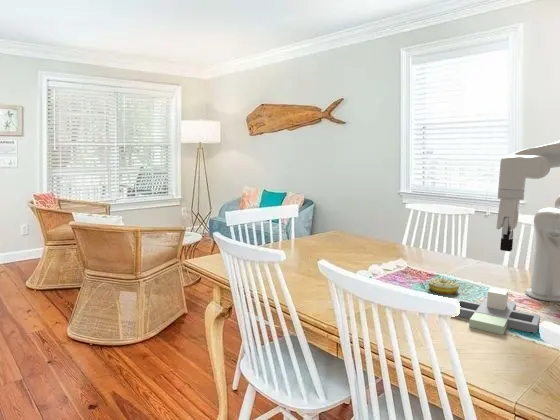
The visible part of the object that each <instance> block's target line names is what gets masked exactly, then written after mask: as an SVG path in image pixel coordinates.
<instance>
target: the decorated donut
mask: <svg viewBox="0 0 560 420" xmlns="http://www.w3.org/2000/svg"><path fill="white" fill-rule="evenodd" d="M428 287H429V290H431V291H432V292H434V293H436V294H440V295H454V294H457V292H458V291H459V289H460V284H458V282H456V281H454V280H452V279H447V278H441V277H440V278H434V279H430V280H429V281H428Z"/></svg>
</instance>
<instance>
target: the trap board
mask: <svg viewBox="0 0 560 420" xmlns="http://www.w3.org/2000/svg"><path fill="white" fill-rule="evenodd" d="M487 297H488V296H486V297H485V298H484V300H483V301H482V302H481V303H479V302H475V301H470V300H465V299H460V298H456V299H457V300H459V303H460V306H461V307H460V314H459V316H458V317H461V318H464V319H469V323H468V326H469V328H473V329H477V330H481V331H486V332H488V333H489V332H490V333H493V334H498V335H502V336H503V335H504V334H505V332H506V329H507V328H509V329H514V330H518V331H522V332H526V331H527V333H530V332H534V333H533V334H535V333H536V332H537V333H538V329H539V327H538V325H539V326H540V324H541V315H538V314H533V313H529V312H525V311H519V310H517V302H512V301H508V300H507V307H506V308H505V310H500V309H495V308H490V307H487ZM539 323H540V324H539ZM537 333H536V334H537Z"/></svg>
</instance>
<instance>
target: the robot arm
mask: <svg viewBox="0 0 560 420" xmlns="http://www.w3.org/2000/svg"><path fill="white" fill-rule="evenodd" d="M552 168H553V169H554V168H560V139H559V140H557V141H554V142H552V143H548V144H544V145H542V144H541V145H538V146H535V147H530V148H529V147H528V148H525V149H521V150H519V151H516V152H513V153H510V154H509V155H506V156H502V157H501V159H500V164H499V177H498V188H497V189H498V190H497V199H498V200H500V201H499V205H498V213H497V220H496V229H497V230H501V238H500V245H499V247H500V248H499V249H500V251H503V252H512V250H513V245H514V243H513V242H514V230H515V229H516V228H517V226H518V222H519V213H520V201H525V190H526V182H527V181H526V179H531V180H540V179H543V178H545V177H546V176H547V175H548V174H549V173H550V172H551V169H552ZM533 229H534V234H535V235H534V251H533V261H532V262H533V263H532V272H531V283H530V287H528V288H526V289H525V294H526V295H527V296H529V297H531V298H533V299H536V300H540V301H546V302H557V303H558V302H559V303H560V194H559V195H558V197H557V198H556V200H555V201H554V207H545V208H542V209H539V210H538V211H537V212H536V213H535V215H534V217H533Z"/></svg>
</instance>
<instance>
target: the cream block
mask: <svg viewBox="0 0 560 420" xmlns="http://www.w3.org/2000/svg"><path fill="white" fill-rule="evenodd" d="M486 297H487V307H490V308H495V309H500V310H505V308H506V307H507V301H508V300H509V299H508V297H509V290H506V289H501V288H495V287H490V288H489V290H488V291H487V296H486Z"/></svg>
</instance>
